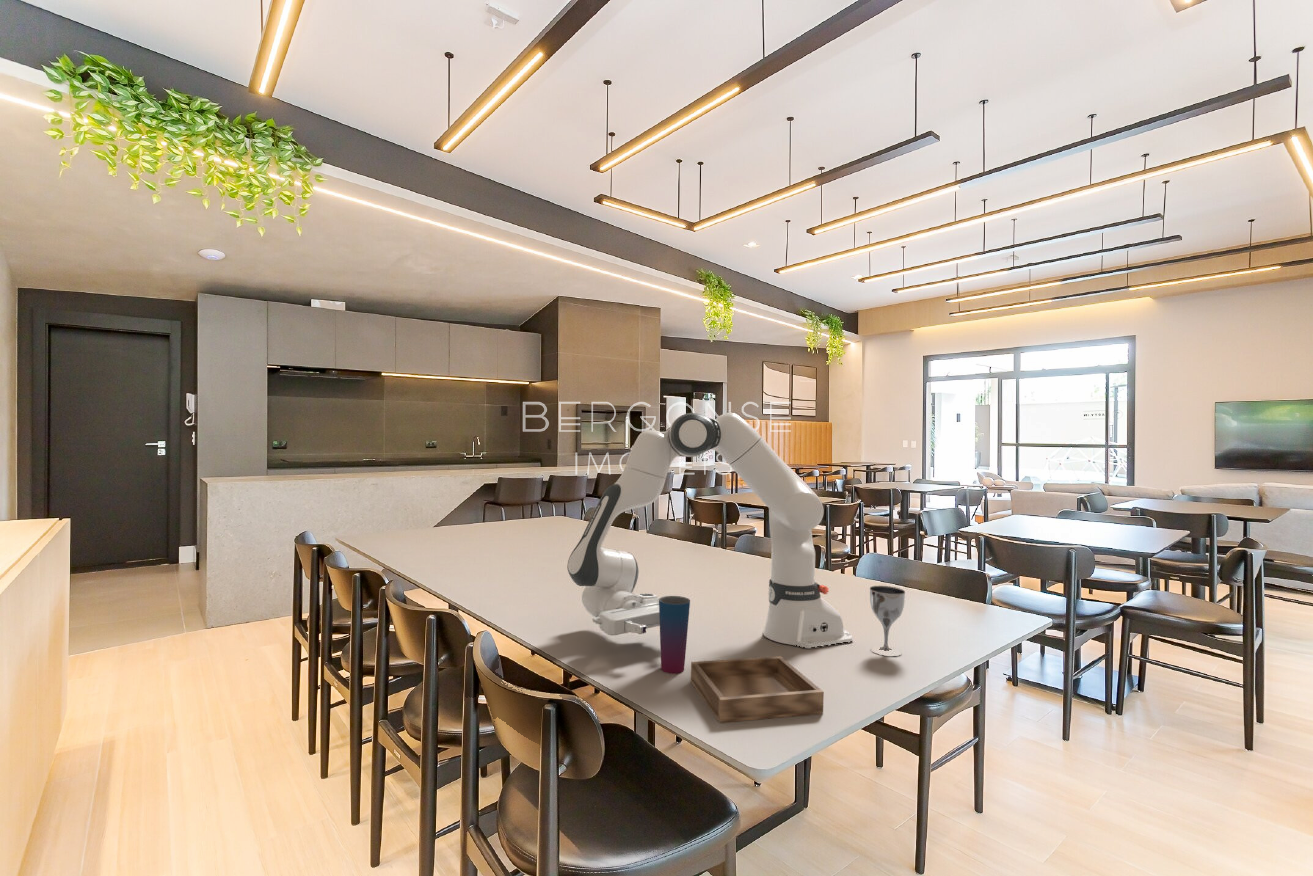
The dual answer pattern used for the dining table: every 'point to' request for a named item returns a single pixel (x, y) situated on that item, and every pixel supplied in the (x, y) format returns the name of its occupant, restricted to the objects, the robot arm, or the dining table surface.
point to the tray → (755, 689)
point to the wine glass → (887, 607)
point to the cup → (673, 632)
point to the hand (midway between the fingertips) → (660, 626)
